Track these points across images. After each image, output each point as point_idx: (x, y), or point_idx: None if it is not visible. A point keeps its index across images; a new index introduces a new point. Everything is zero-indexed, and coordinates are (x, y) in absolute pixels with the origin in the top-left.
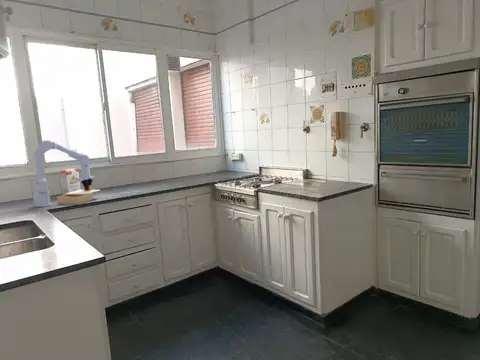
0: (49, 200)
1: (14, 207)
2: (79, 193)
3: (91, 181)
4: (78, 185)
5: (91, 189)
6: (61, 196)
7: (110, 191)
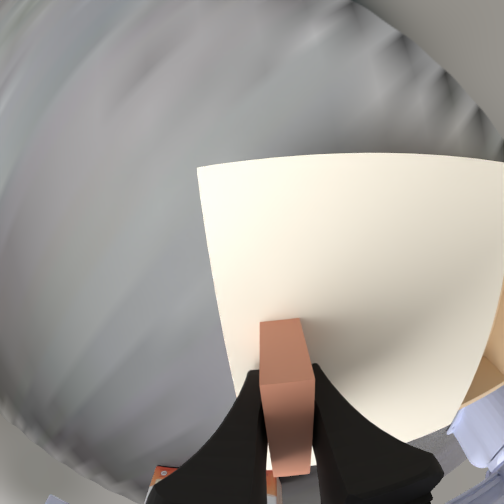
0: (497, 393)
1: (463, 454)
2: (499, 279)
3: (207, 478)
4: None
5: (277, 327)
6: (488, 387)
7: (13, 321)
